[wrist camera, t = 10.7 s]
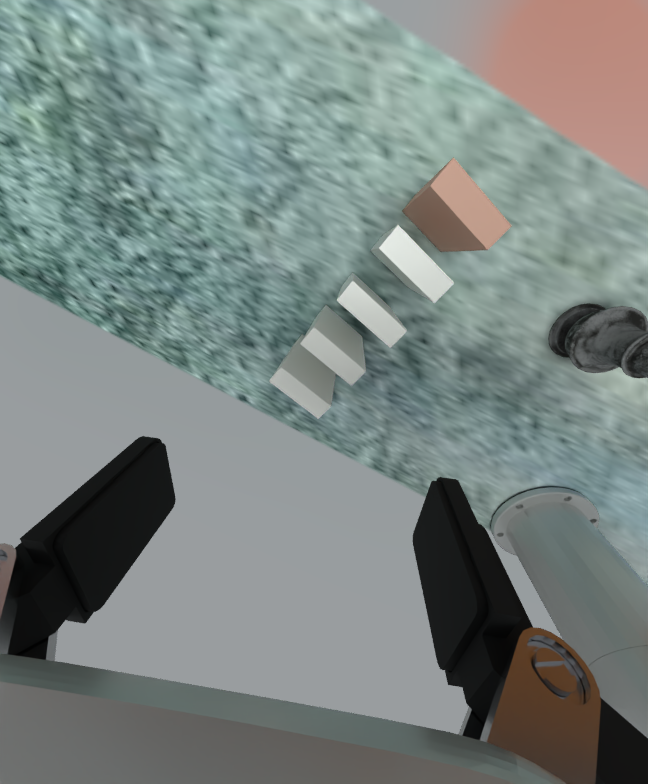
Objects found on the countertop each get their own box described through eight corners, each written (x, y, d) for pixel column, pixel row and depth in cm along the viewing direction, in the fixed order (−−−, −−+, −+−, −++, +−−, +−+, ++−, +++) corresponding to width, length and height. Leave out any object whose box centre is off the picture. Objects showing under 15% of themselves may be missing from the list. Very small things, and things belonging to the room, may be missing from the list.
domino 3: (390, 306, 28) (407, 331, 19) (378, 319, 29) (390, 348, 20) (352, 272, 27) (352, 280, 18) (341, 285, 28) (336, 300, 19)
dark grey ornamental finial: (537, 359, 29) (645, 420, 18) (556, 300, 27) (694, 331, 16) (599, 360, 29) (747, 423, 18) (625, 299, 26) (815, 331, 15)
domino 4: (420, 273, 27) (454, 283, 18) (407, 287, 27) (434, 303, 18) (382, 235, 26) (398, 224, 17) (370, 250, 26) (378, 248, 17)
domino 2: (337, 363, 31) (331, 406, 22) (328, 373, 32) (318, 418, 23) (302, 333, 30) (280, 366, 21) (293, 344, 31) (268, 381, 22)
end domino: (455, 236, 25) (511, 226, 16) (440, 251, 26) (487, 249, 17) (416, 193, 24) (453, 157, 15) (402, 211, 25) (430, 185, 16)
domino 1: (362, 336, 30) (366, 371, 21) (352, 347, 30) (351, 386, 21) (326, 304, 29) (313, 327, 20) (316, 316, 29) (299, 343, 20)
